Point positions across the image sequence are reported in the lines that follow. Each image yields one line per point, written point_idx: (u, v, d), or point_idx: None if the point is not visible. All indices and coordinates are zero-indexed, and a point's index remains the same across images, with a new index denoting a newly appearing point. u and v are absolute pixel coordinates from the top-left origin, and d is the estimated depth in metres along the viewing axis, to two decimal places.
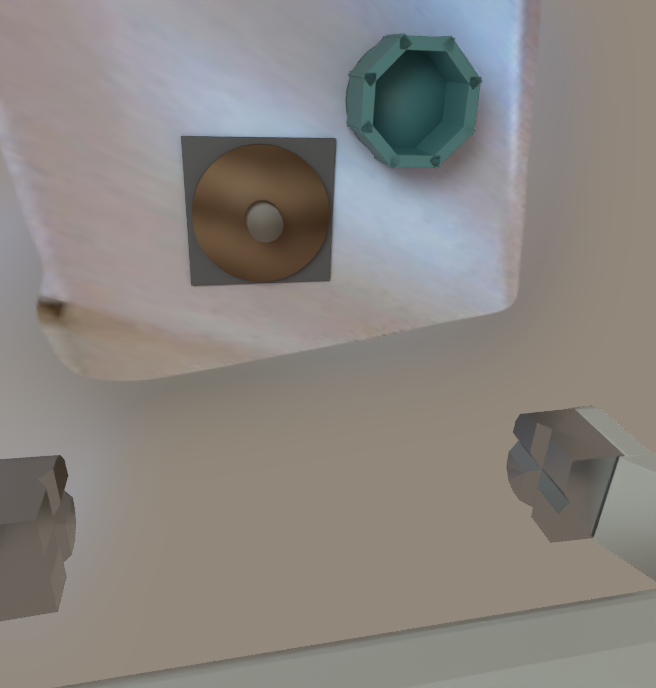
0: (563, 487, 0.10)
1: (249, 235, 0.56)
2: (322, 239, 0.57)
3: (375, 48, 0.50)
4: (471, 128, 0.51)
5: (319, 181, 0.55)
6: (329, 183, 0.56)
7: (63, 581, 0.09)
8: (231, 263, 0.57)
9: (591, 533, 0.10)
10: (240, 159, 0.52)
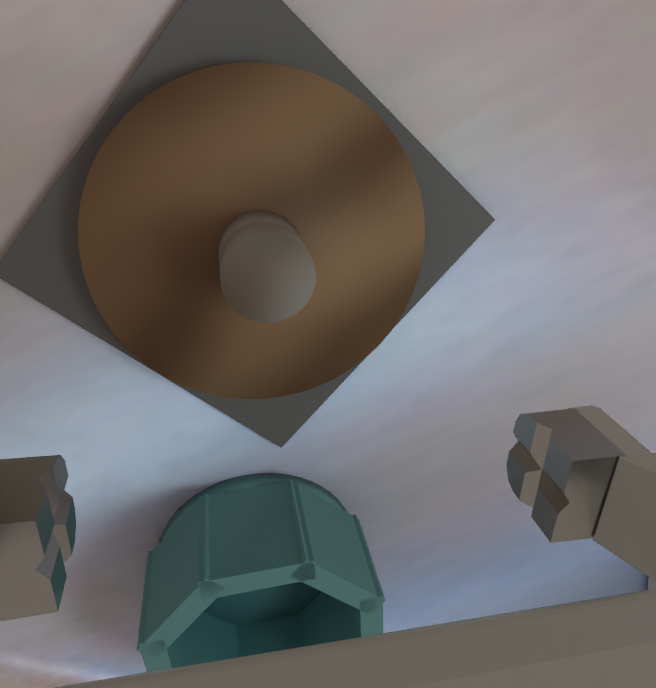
0: (563, 487, 0.10)
1: (244, 196, 0.21)
2: (117, 331, 0.22)
3: None
4: None
5: (241, 395, 0.25)
6: (215, 398, 0.26)
7: (63, 581, 0.09)
8: (213, 102, 0.20)
9: (591, 533, 0.10)
10: (389, 294, 0.24)
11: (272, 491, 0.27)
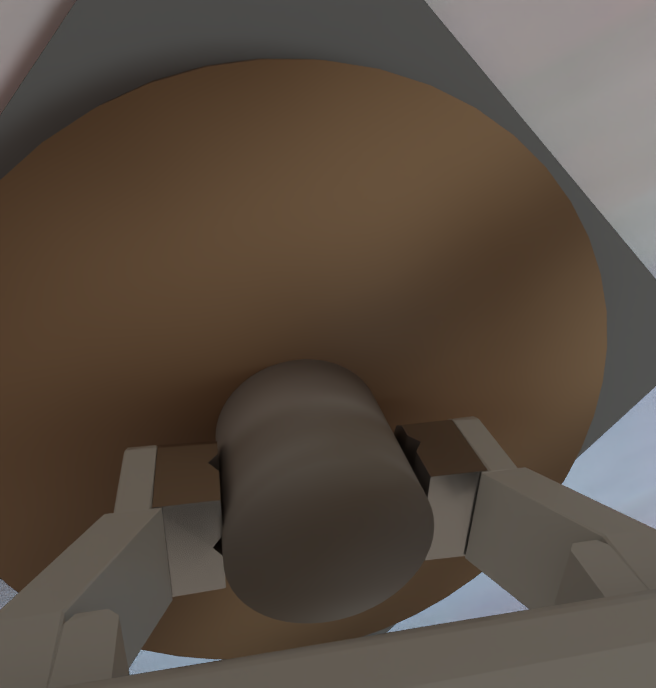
0: None
1: (269, 336, 0.10)
2: (19, 584, 0.12)
3: None
4: None
5: None
6: None
7: None
8: (204, 149, 0.09)
9: (462, 551, 0.10)
10: None
11: None
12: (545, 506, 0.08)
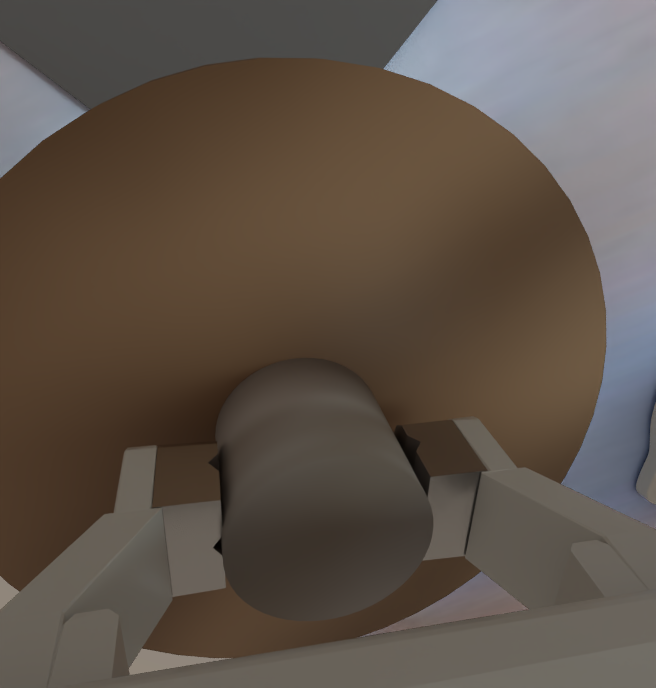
0: None
1: (269, 335, 0.10)
2: (19, 582, 0.12)
3: None
4: None
5: (256, 652, 0.14)
6: None
7: None
8: (203, 148, 0.09)
9: (462, 551, 0.10)
10: None
11: None
12: (544, 507, 0.08)
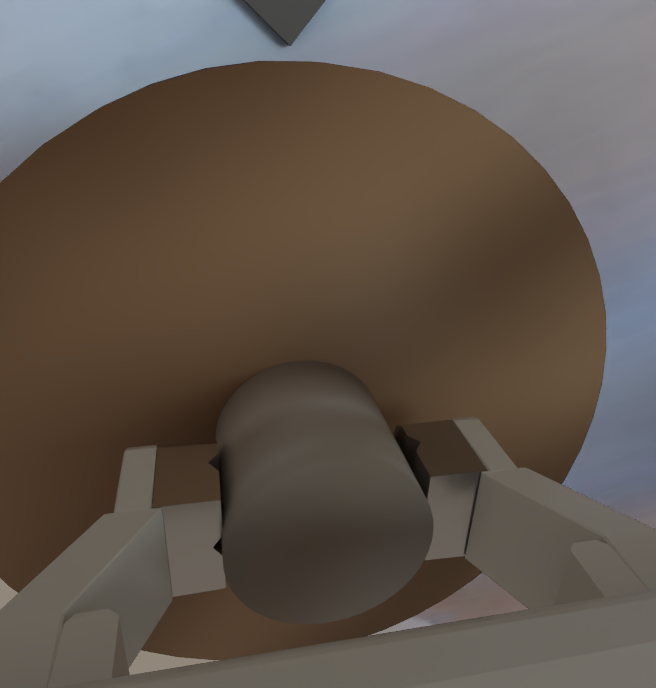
0: None
1: (269, 337, 0.10)
2: (20, 585, 0.12)
3: None
4: None
5: None
6: None
7: None
8: (204, 151, 0.09)
9: (462, 551, 0.10)
10: None
11: None
12: (544, 506, 0.08)
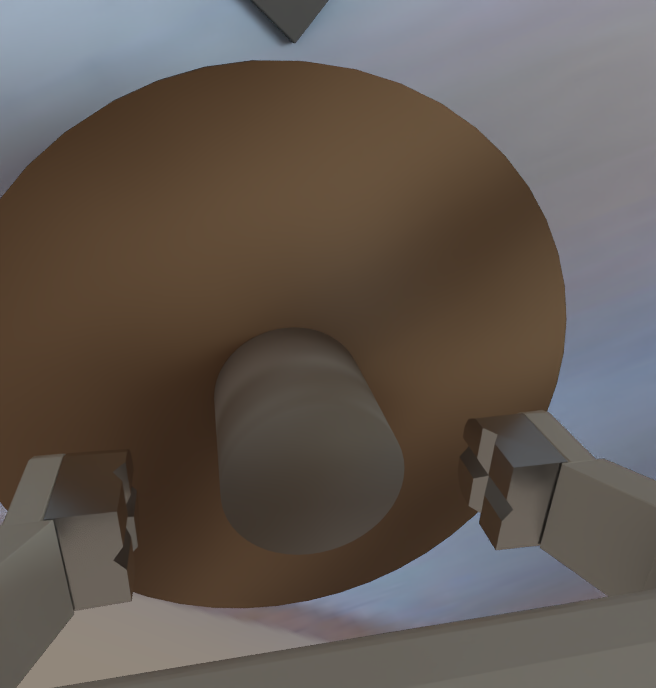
0: (506, 494, 0.09)
1: (262, 306, 0.12)
2: None
3: None
4: None
5: (251, 603, 0.15)
6: None
7: (134, 572, 0.09)
8: (203, 139, 0.10)
9: (537, 541, 0.10)
10: None
11: None
12: (630, 496, 0.09)
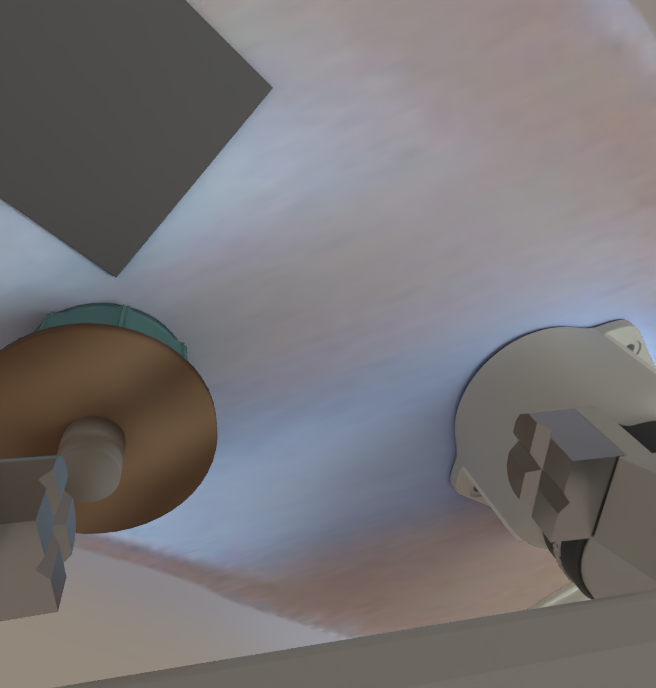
0: (563, 487, 0.10)
1: (78, 408, 0.30)
2: None
3: None
4: None
5: (88, 531, 0.34)
6: (56, 227, 0.32)
7: (63, 581, 0.09)
8: (49, 355, 0.29)
9: (591, 533, 0.10)
10: (195, 461, 0.33)
11: (107, 311, 0.34)
12: None
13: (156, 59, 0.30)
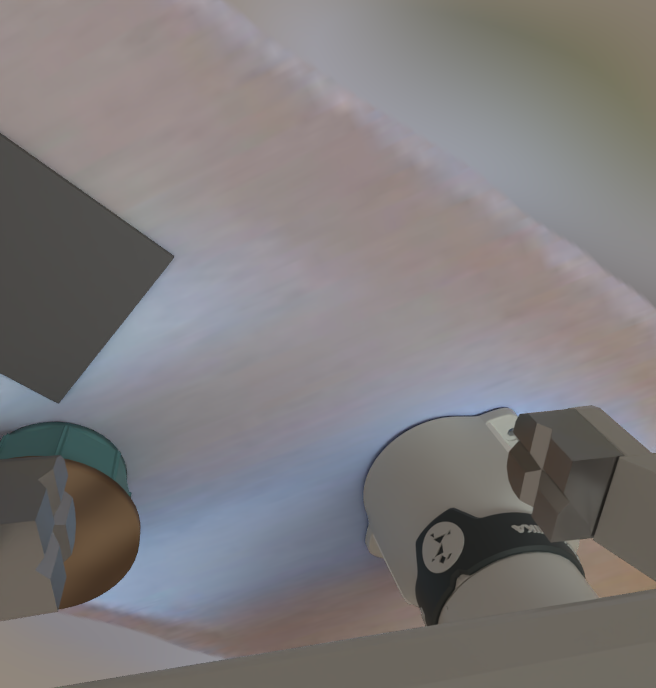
0: (563, 487, 0.10)
1: None
2: None
3: (125, 486, 0.45)
4: None
5: None
6: (6, 370, 0.40)
7: (63, 581, 0.09)
8: None
9: (591, 533, 0.10)
10: (123, 553, 0.41)
11: (51, 431, 0.42)
12: None
13: (77, 245, 0.38)
